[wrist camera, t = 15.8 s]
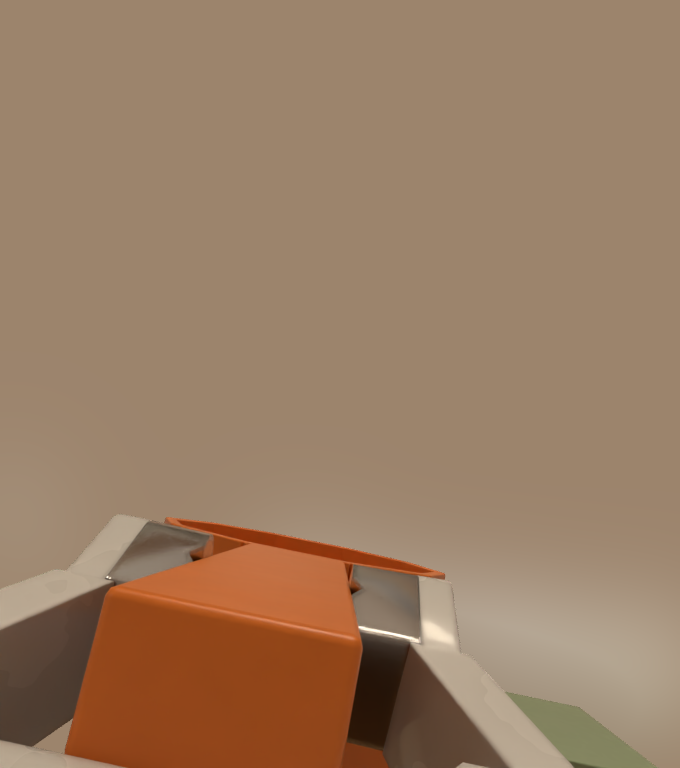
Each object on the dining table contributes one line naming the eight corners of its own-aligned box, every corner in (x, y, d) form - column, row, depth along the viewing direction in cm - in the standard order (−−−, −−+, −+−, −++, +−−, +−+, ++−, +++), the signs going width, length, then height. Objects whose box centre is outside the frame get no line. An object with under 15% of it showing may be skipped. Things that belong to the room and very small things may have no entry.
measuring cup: (150, 704, 20) (195, 517, 22) (394, 756, 20) (425, 563, 21) (-573, 1443, 4) (-228, 516, 5) (646, 1756, 4) (718, 711, 5)
